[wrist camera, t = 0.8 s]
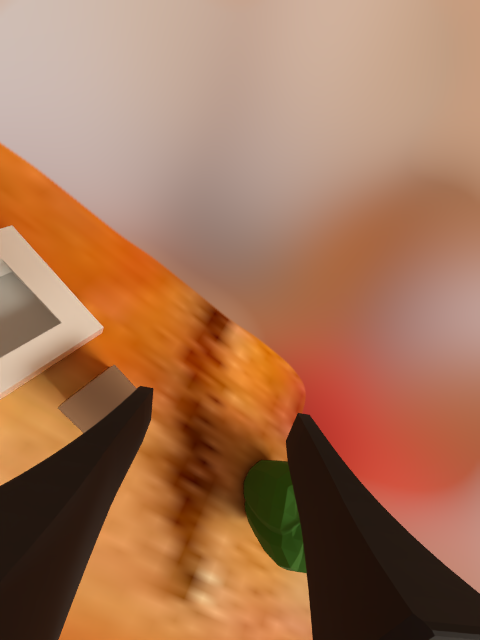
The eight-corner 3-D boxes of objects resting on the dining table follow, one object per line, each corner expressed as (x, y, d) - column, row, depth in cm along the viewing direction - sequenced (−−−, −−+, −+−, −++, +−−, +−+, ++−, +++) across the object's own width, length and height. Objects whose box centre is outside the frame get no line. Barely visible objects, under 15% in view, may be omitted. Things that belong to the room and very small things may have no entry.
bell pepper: (264, 433, 29) (332, 456, 21) (295, 482, 30) (371, 523, 22) (216, 492, 24) (278, 551, 16) (254, 548, 25) (331, 631, 17)
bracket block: (99, 432, 20) (101, 450, 15) (66, 399, 19) (57, 407, 14) (137, 397, 22) (150, 404, 17) (109, 367, 22) (114, 364, 17)
